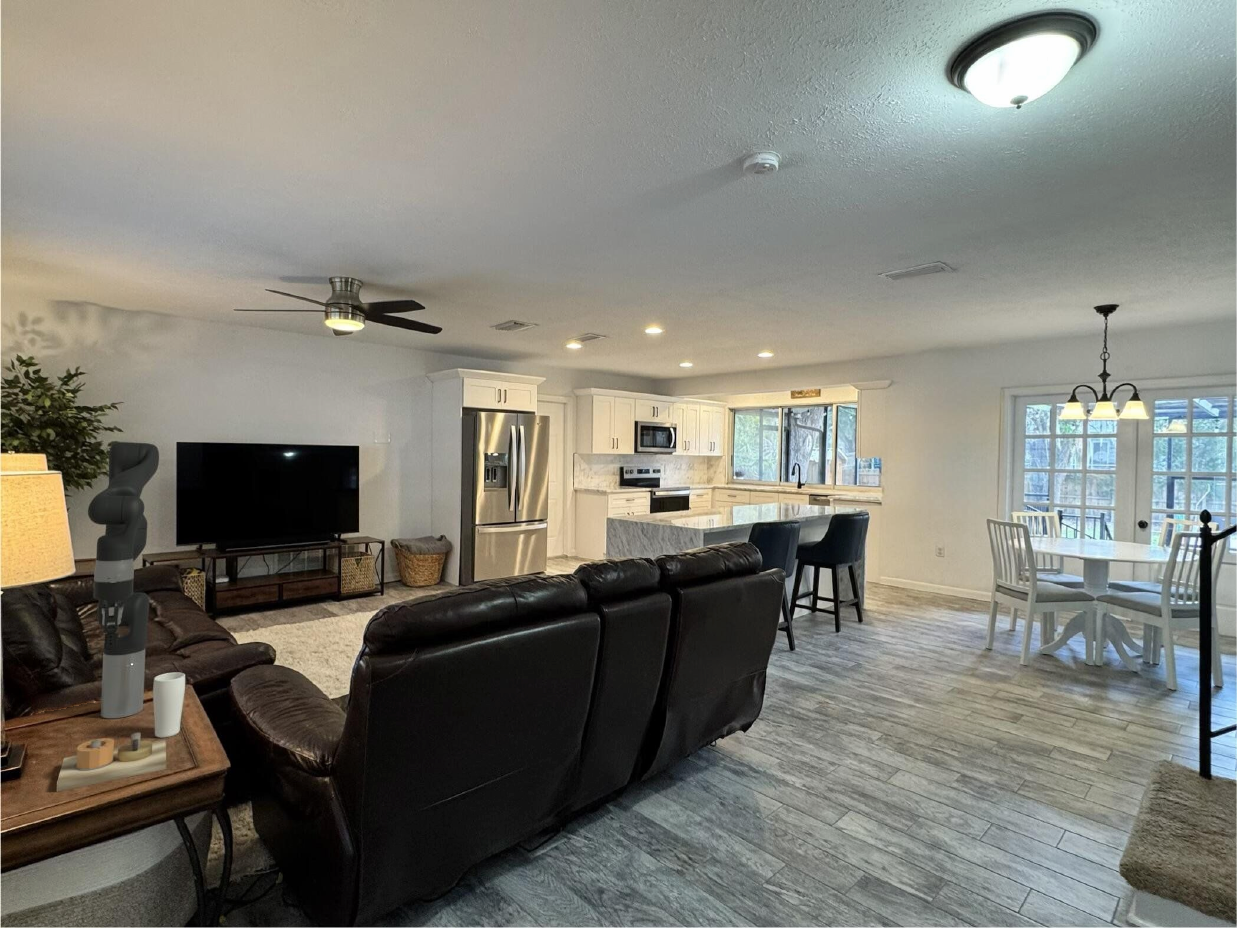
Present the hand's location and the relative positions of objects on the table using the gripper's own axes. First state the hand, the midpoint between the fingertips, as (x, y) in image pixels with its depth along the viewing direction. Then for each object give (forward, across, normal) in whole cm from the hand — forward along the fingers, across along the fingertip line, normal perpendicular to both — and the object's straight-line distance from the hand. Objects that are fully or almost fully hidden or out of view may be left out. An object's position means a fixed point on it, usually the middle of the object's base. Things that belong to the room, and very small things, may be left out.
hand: (111, 644), depth 153 cm
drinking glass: (+26, -4, +12) cm, 29 cm away
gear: (+24, +11, -2) cm, 26 cm away
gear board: (+26, +11, +2) cm, 28 cm away
